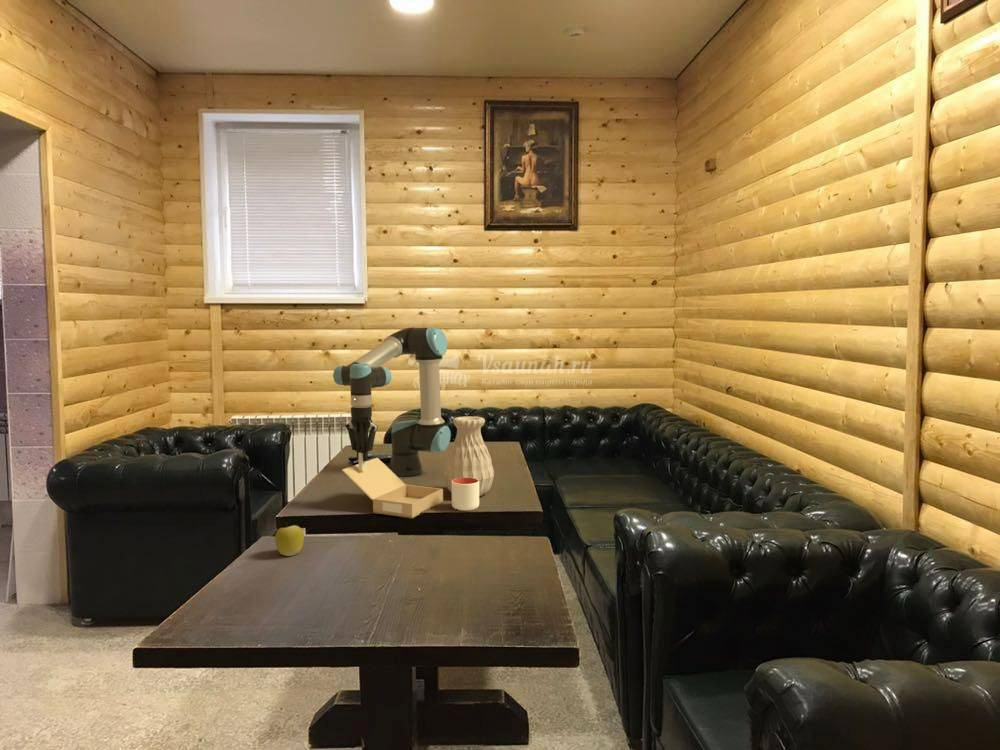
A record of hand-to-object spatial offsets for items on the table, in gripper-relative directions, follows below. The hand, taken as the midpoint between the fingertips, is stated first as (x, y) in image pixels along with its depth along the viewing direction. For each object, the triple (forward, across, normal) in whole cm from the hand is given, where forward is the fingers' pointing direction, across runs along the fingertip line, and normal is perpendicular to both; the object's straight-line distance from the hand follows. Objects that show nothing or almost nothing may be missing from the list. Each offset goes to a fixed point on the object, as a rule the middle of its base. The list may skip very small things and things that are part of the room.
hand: (362, 469), depth 245 cm
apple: (+13, +10, -51) cm, 54 cm away
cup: (+14, +36, +12) cm, 41 cm away
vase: (+14, +30, +29) cm, 43 cm away
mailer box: (+13, +18, +4) cm, 22 cm away
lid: (+4, +3, +4) cm, 6 cm away
